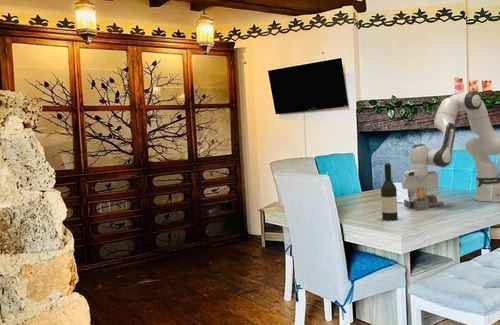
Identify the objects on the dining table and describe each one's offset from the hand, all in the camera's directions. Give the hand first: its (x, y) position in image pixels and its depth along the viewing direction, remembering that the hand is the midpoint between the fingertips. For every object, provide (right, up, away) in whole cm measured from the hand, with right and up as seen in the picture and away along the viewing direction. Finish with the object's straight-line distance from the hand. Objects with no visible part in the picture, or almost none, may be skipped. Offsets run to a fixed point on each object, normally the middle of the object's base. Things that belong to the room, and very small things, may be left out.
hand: (420, 195), depth 256 cm
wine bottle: (-25, -11, -22) cm, 35 cm away
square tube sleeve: (+1, -8, 0) cm, 8 cm away
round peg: (0, -3, 0) cm, 3 cm away
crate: (+10, -6, +10) cm, 15 cm away
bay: (+6, -7, +10) cm, 13 cm away
